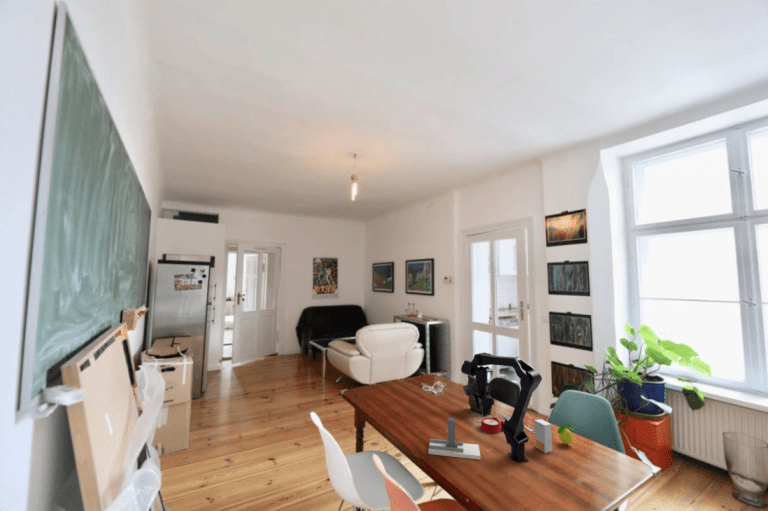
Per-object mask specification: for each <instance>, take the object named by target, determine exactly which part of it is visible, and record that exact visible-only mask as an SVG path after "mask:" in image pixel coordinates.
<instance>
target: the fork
mask: <svg viewBox="0 0 768 511" xmlns="http://www.w3.org/2000/svg"><path fill="white" fill-rule="evenodd" d="M502 416H503V417H504V418H505V419H506V418H509V417H510V416H509V415H507V414H506V413H505V414H502ZM524 428H525V429H527V430H528V431H530V432H532V431H534V430H533V429H531V428H530V427H527V426H526V425H524Z"/></svg>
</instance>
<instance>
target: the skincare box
mask: <svg viewBox="0 0 768 511" xmlns="http://www.w3.org/2000/svg"><path fill="white" fill-rule="evenodd" d="M533 424H534V431H535V432H534V447H535V448H537V449H538V450H540V451H542V452H544V453H545V454H546V453H551V452H553V443H552V442H553V439H552V438H553V437H552V424H551V423H549V422H548V421H546V420H544V419H542V418H539V419H535V420H534V422H533Z"/></svg>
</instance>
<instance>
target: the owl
mask: <svg viewBox="0 0 768 511" xmlns="http://www.w3.org/2000/svg"><path fill="white" fill-rule="evenodd" d="M467 378H468V379H467V385H469V384H472V383H473V381H474V380H475V376H474V377H472V376H469V375H467ZM487 382H489V379H488V380H487ZM487 391H488V392H489V394H486V395H490V396H491V388H490V384H489V385H487ZM467 402H468V403H467V404H468V405H469V407H470V408H469V409H470V410H469V411H470V412H472V413H475V414H480V415H482V416H483V414H482V406H481V405H480V406H479V408H476V404H475V400H474V396H473V395H470V396H468V401H467ZM492 409H493V405H492V406H491V408H490V409H489V411H488V413H487V414H486V416H491V415H492Z"/></svg>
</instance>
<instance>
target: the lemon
mask: <svg viewBox="0 0 768 511" xmlns="http://www.w3.org/2000/svg"><path fill="white" fill-rule="evenodd" d="M566 423H567V422H565V423H564V425H563V426H559V427H558V429H557V434H558V437H559V440H560V441H561V442H562V443H563V444H564V445H566V446H567V445H569V444H571V443H573V439H574V438H573V434H572V431H573V430H574V429H575V428H574V426H573V425H572V424H570V423H568V424H566ZM566 426H567V427H566ZM571 430H572V431H571Z"/></svg>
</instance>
